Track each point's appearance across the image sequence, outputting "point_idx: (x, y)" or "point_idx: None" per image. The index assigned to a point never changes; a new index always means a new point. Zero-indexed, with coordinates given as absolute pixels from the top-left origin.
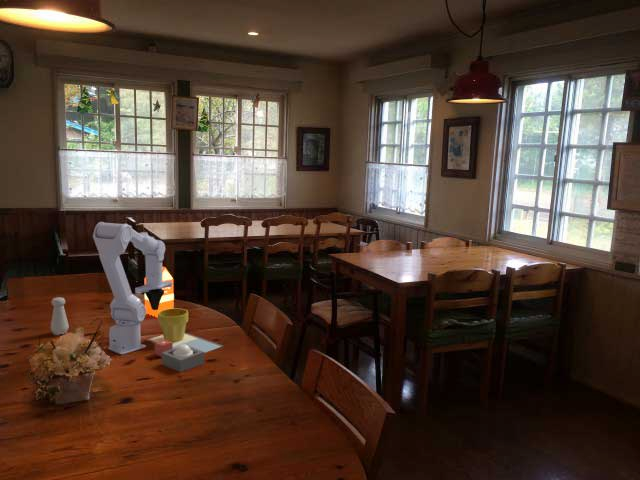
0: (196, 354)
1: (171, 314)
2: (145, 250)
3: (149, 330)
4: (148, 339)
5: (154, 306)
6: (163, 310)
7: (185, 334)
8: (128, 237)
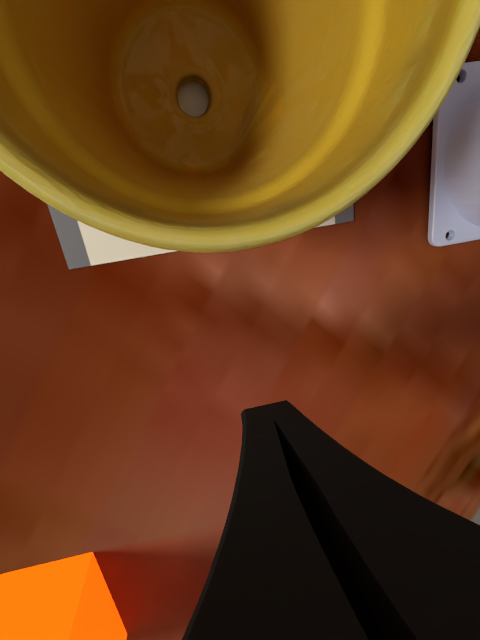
0: None
1: (134, 205)
2: None
3: (241, 381)
4: (339, 218)
5: (315, 430)
6: (275, 219)
7: None
8: None
